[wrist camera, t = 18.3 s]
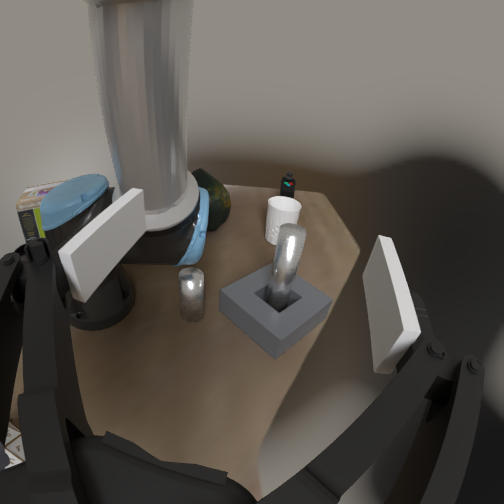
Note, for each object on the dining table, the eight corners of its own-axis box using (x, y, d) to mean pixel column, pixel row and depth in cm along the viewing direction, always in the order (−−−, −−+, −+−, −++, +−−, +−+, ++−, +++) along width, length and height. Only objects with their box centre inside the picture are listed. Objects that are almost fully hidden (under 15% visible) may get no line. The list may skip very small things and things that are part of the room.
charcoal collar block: (219, 309, 53) (220, 289, 50) (272, 279, 62) (275, 260, 59) (275, 359, 46) (281, 340, 43) (325, 318, 54) (333, 299, 51)
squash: (205, 230, 64) (228, 168, 66) (152, 214, 69) (174, 159, 70) (226, 243, 78) (244, 191, 79) (178, 229, 82) (197, 180, 84)
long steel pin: (258, 314, 53) (274, 227, 43) (273, 304, 56) (291, 220, 46) (274, 326, 51) (295, 240, 41) (288, 316, 54) (311, 232, 43)
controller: (291, 200, 95) (296, 171, 90) (290, 218, 85) (297, 186, 80) (278, 198, 96) (283, 169, 90) (275, 215, 85) (281, 183, 80)
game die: (42, 465, 26) (48, 474, 20) (-3, 476, 19) (-7, 487, 13) (18, 410, 28) (17, 406, 23) (-27, 419, 21) (-38, 416, 16)
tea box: (88, 229, 69) (80, 176, 61) (83, 251, 62) (72, 194, 53) (38, 236, 64) (26, 185, 56) (29, 258, 56) (13, 203, 48)
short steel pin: (176, 311, 51) (173, 273, 46) (194, 302, 54) (194, 264, 49) (189, 325, 49) (187, 287, 44) (208, 315, 52) (209, 277, 46)
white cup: (272, 227, 80) (278, 193, 74) (298, 238, 77) (306, 203, 71) (256, 239, 74) (261, 202, 68) (284, 251, 71) (292, 214, 65)
